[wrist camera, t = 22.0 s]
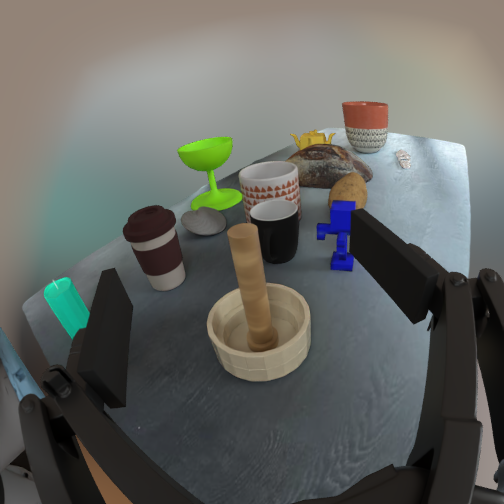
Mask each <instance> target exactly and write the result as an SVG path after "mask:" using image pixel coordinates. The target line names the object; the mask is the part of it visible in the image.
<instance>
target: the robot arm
mask: <svg viewBox="0 0 504 504" xmlns="http://www.w3.org/2000/svg"><path fill="white" fill-rule="evenodd" d="M349 252H350V253H351V254H352V255H353V256H354V257H355V258H356V259H357V260H358V262H359V263H360V264H361V265H362V266H363V267H364V268H365V269H366V270H367V271H368V273H369V274H370V275H371V276H372V277H373V278H374V279H375V280H376V281H377V283H378V284H379V285H380V286H381V287H382V288H383V289H384V290H385V292H386V293H387V294H388V295H389V296H390V297H391V299H392V300H393V301H394V302H395V303H396V304H397V306H398V307H399V308H400V309H401V310H402V311H403V313H404V314H405V315H406V316H407V317H408V319H409V320H410V321H411V322H412V323H413V325H414V324H416V323H418V322H420V321H422V320H424V319H425V318H426V316H427V313H428V310H430V312H431V313H432V314H433V315H432V318H431V321H430V323H429V326H428V329H427V331H429V330H430V328H431V332H430V348H429V359H428V369H427V378H426V386H425V393H424V399H423V405H422V411H421V417H420V422H419V427H418V432H417V437H416V441H415V445H414V447H413V449H412V451H411V453H410V455H409V458H408V461H407V464H406V466H400V467H394V466H393V464H391V465H389V466H387V467H385V468H383V469H381V470H379V471H377V472H375V473H372V474H370V475H368V476H366V477H364V478H363V479H362V480H360V481H359V482H358V483H356V484H355V485H353V486H352V487H351V488H349V489H348V490H346V491H345V492H343V493H342V494H340V495H338V496H334V497H327V498H319V499H309V500H302V501H299V502H296V503H292V504H504V283H503V281H502V279H501V277H500V276H499V275H498V273H497V272H495V271H494V270H491V269H487V268H485V269H482V270H480V272H479V275H478V278H471V279H467V277H466V276H464V275H463V274H461V273H458V272H450V273H449V272H447V271H446V270H445V269H444V268H443V267H442V266H441V265H440V264H438V263H437V262H436V261H435V260H434V259H433V258H431V257H430V256H429V255H428V254H426V252H424V251H423V250H422V249H421V248H420V247H418V246H416V245H414V244H411V243H409V244H406V243H405V242H404V241H403V240H402V239H400V238H399V237H398V236H397V235H395V234H394V233H393V232H392V231H391V230H389V229H388V228H387V227H386V226H384V225H383V224H382V223H381V222H379V221H378V220H377V219H375V218H374V217H373V216H372V215H370V214H369V213H368V212H366V211H365V210H364V209H363V208H360V209H356V210H351V221H350V249H349ZM488 311H489V313H488ZM132 312H133V305H132V303H131V301H130V299H129V297H128V295H127V293H126V291H125V289H124V287H123V285H122V282H121V280H120V278H119V276H118V274H117V272H116V269H115V268H112V269H108V270H104V271H102V273H101V277H100V280H99V283H98V286H97V290H96V293H95V297H94V300H93V304H92V307H91V311H90V315H89V318H88V322H87V326H86V328H81V329H79V330H78V331H77V333H76V334H75V336H74V338H73V342H72V345H71V346H72V348H71V349H70V355H69V358H68V362H67V366H66V369H65V368H64V367H63V366H62V365H53V366H51V367H49V368H48V369H47V370H46V371H45V372H44V373H43V375H42V377H41V382H40V383H41V387H42V388H43V389H44V390H45V391H46V392H47V393H48V394H49V395H48V396H46V397H45V395H44V394H43V393H42V391H41V390H40V388H39V387H38V385H37V384H36V382H35V381H34V379H33V378H32V376H31V375H30V373H29V372H28V370H27V369H26V367H25V366H24V364H23V362H22V361H21V359H20V358H19V356H18V355H17V353H16V351H15V350H14V348H13V346H12V345H11V343H10V341H9V340H8V338H7V337H6V335H5V333H4V332H3V330H2V329H1V327H0V504H106V503H105V501H104V499H103V497H102V495H101V493H100V491H99V489H98V487H97V485H96V483H95V481H94V479H93V477H92V475H91V472H90V470H89V468H88V466H87V464H86V461H85V459H84V456H83V454H82V452H81V449H80V446H79V444H78V442H77V439H76V436H75V435H77V437H78V438H79V439H80V441H81V442H82V444H83V445H84V447H85V448H86V449H87V450H88V452H89V453H90V455H91V456H92V457H93V458H94V460H95V461H96V462H97V463H98V465H99V466H100V467H101V468H102V470H103V471H104V472H105V473H106V474H107V476H108V477H109V478H110V479H111V480H112V482H113V483H114V484H115V485H116V486H117V487H118V488H119V489H120V490H121V491H122V493H123V494H124V495H125V496H126V497H127V498H128V499H129V500H130V501H131V502H132V503H133V504H204V503H203V502H202V501H200V500H199V499H198V498H196V497H195V496H194V495H192V494H191V493H190V492H189V491H187V490H186V489H185V488H184V487H182V486H181V485H180V484H179V483H177V482H176V481H175V480H174V479H173V478H171V477H170V476H169V475H168V474H167V473H166V472H165V471H163V470H162V469H161V468H160V467H159V466H158V465H157V464H156V463H155V462H154V461H152V460H151V459H150V458H149V457H148V456H147V455H146V454H145V453H144V452H143V451H142V450H141V449H140V448H139V447H138V446H137V445H136V444H135V443H134V442H133V441H132V440H131V439H130V438H129V437H128V436H127V435H126V434H125V433H124V432H123V431H122V429H121V428H120V427H119V426H118V425H117V424H116V423H115V422H114V421H113V420H112V418H111V417H110V416H109V415H108V414H107V413H106V412H105V411H104V402H105V403H106V404H107V406H108V407H109V408H110V409H111V408H121V407H126V387H127V368H128V354H129V342H130V331H131V321H132ZM477 359H478V363H479V367H480V370H481V374H482V378H483V383H484V387H485V392H486V396H487V401H488V406H489V412H490V417H491V423H492V430H493V438H494V444H495V450H496V454H497V458H498V461H499V467H498V470H497V471H496V472H495V474H494V481H495V482H496V483H498V488H497V490H493V489H488V488H485V487H481V486H477V485H475V482H476V476H477V471H478V465H479V458H480V451H481V441H482V432H483V429H482V428H483V427H482V423H481V422H480V421H477V418H476V413H477V388H478V383H477V382H478V369H477ZM25 449H26V453H27V457H28V461H29V465H30V469H31V472H32V473H31V472H29V471H28V470H26V469H24V468H22V467H19V466H14V465H10V463H11V462H12V461H13V460H14V459H15V458H16V457H17V456H18V455H20V454H21V453H22V452H23V451H24V450H25Z"/></svg>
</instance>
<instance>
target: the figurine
mask: <svg viewBox="0 0 504 504" xmlns="http://www.w3.org/2000/svg"><path fill="white" fill-rule="evenodd" d="M355 209H356V201H343V200H333V202H332V205H331V209H330V220H331V224H326V223H318V224H317V240H325V234H336V235H338V236H337V252H335V251H334V252H333V256H332V260H331V270H343V271H352V268H353V260H354V256H353V255H352V254H351V253H348V252H347V235H350V221H351V210H355Z"/></svg>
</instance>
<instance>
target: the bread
mask: <svg viewBox="0 0 504 504" xmlns="http://www.w3.org/2000/svg"><path fill="white" fill-rule="evenodd" d="M285 162H290V163H293V164H295V165H296V166H297V168H298V178H299V186H303V187H315V188H331V189H332V187H333V186H334V185H335V184H336V182H337V181H339V180H340V179H342V178H343V177H344V176H345V175H346V174H348V173H350V172H355V173H358V174H359V175H360V176H361V177H362V178H363V179H364V181H365V183H366V182H367V180H369V179H370V180H371V179H372V178H371V177H373V175H372V174H373V173H372V170H371V169H370V168H369V166H368V165H366V163H365V162H364V161H362V160H361V159H360V158H359V157H358V156H356V155H355V154H353V153H352V152H350V151H349V150H346V149H345V148H342V147H340V146H337V145H332V144H314V145H310V146H308V147H306V148H304V149H302V150H300V151H297V152H296V153H295V154H293V155H292V156H291V157H290V158H288V159H287V160H286V161H285ZM309 184H310V185H309ZM313 184H315V185H313Z"/></svg>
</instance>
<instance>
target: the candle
mask: <svg viewBox="0 0 504 504" xmlns="http://www.w3.org/2000/svg"><path fill="white" fill-rule="evenodd" d="M44 297H45V299H46V300H47V302H48V304H49V305H50V307H51V309H52V310H53V312H54V313H55V315H56V316H57V318H58V319H59V321H60V322H61V324H62V325H63V327H64V328H65V330H66V331H67V333H68V334H69V335H70V337H71V338H72V339H73V338H74V336H75V334H76V333H77V331H78V330H79V329H81V328H86V326H87V322H88V318H89V315H90V313H89V311H88V309H87V308H86V306H85V304H84V302H83V301H82V299H81V297H80V296H79V294H78V292H77V290H76V288H75V286H74V285H73V283H72V281H71V279H70V278H68V277H64V278H61V279H59V280H56V281H54V280H53V282H52V283H51V284H49V285H47V286H46V288H45V291H44Z"/></svg>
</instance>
